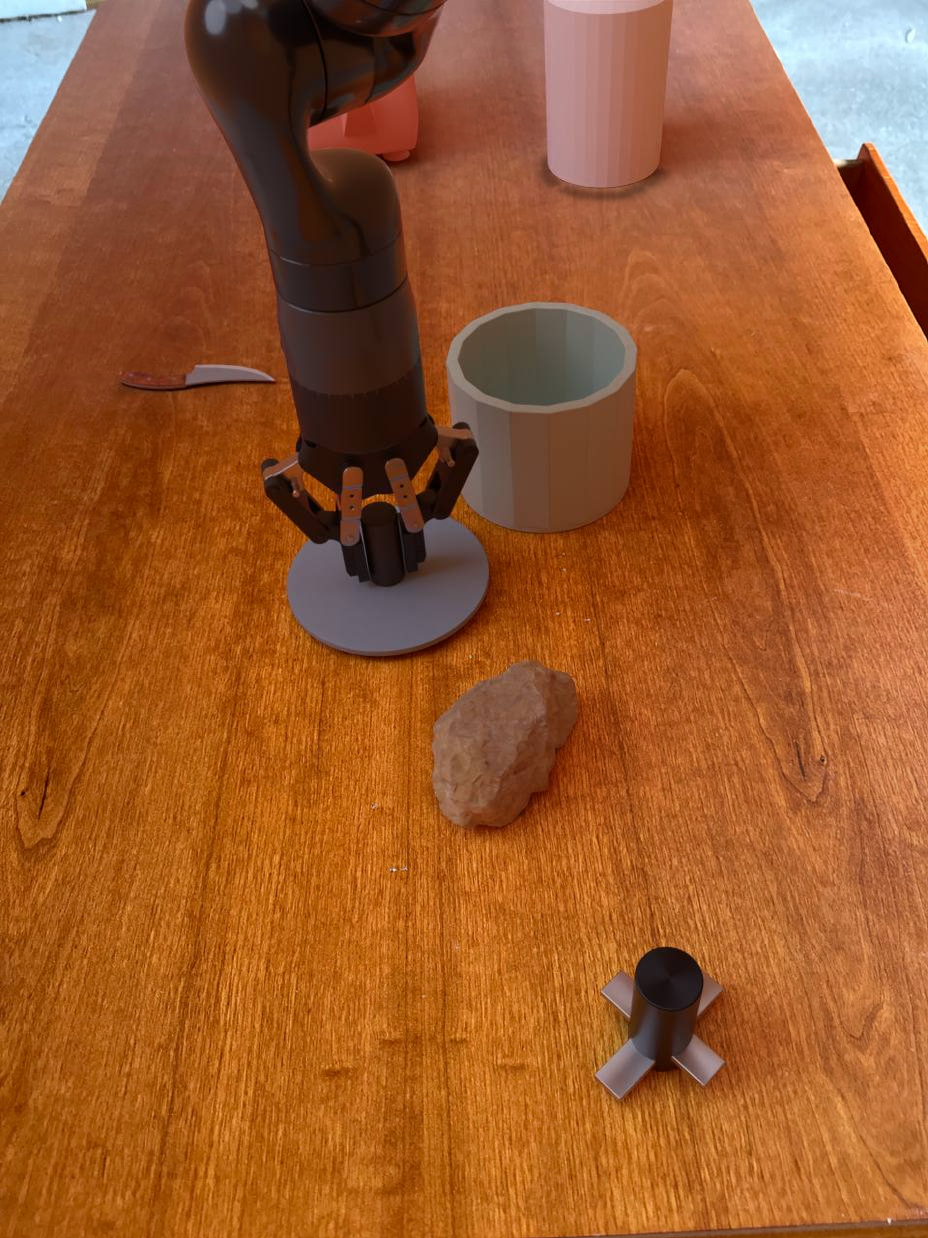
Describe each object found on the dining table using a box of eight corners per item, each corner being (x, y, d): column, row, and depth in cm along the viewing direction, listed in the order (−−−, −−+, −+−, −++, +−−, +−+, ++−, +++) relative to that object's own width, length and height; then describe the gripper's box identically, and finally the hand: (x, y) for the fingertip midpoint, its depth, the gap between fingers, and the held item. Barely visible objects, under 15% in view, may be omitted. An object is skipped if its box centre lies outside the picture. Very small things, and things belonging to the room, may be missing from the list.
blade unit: (659, 946, 59) (669, 877, 53) (761, 1033, 55) (782, 969, 50) (556, 1048, 55) (556, 986, 50) (658, 1148, 52) (669, 1092, 47)
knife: (278, 358, 95) (274, 379, 93) (280, 364, 95) (275, 385, 93) (121, 365, 96) (114, 386, 93) (123, 370, 96) (116, 392, 94)
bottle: (656, 130, 120) (674, -148, 101) (668, 185, 112) (689, -106, 93) (543, 136, 120) (540, -140, 102) (546, 191, 112) (544, -97, 94)
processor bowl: (599, 407, 89) (603, 288, 81) (653, 512, 80) (663, 390, 73) (441, 438, 87) (430, 320, 80) (480, 548, 79) (471, 428, 71)
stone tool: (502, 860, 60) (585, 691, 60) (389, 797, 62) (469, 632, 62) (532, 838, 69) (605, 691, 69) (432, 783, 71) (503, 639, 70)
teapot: (431, 187, 114) (418, 39, 104) (305, 202, 114) (280, 55, 103) (411, 95, 129) (398, -43, 119) (299, 108, 129) (276, -29, 118)
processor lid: (464, 501, 82) (458, 428, 78) (512, 637, 73) (508, 564, 69) (278, 539, 81) (260, 467, 76) (303, 682, 72) (285, 611, 67)
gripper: (233, 412, 60) (290, 630, 73) (490, 363, 61) (502, 586, 74) (221, 334, 65) (276, 551, 78) (459, 291, 66) (475, 511, 79)
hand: (386, 567), depth 76 cm, fingers closed
